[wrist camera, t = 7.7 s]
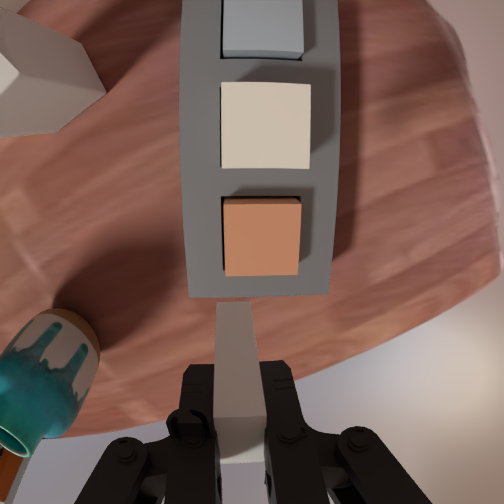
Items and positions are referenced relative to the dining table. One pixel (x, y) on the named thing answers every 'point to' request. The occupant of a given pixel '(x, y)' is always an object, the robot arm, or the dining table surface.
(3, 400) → the vase
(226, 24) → the key slate
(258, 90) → the key ivory
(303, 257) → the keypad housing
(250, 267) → the key rust
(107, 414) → the dining table surface
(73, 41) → the milk carton
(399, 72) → the dining table surface
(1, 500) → the alarm clock
